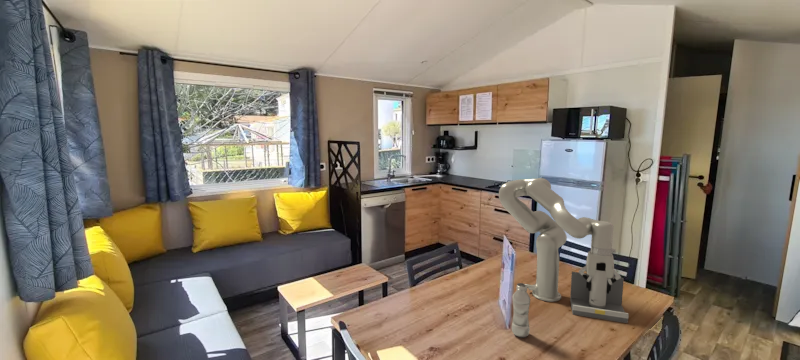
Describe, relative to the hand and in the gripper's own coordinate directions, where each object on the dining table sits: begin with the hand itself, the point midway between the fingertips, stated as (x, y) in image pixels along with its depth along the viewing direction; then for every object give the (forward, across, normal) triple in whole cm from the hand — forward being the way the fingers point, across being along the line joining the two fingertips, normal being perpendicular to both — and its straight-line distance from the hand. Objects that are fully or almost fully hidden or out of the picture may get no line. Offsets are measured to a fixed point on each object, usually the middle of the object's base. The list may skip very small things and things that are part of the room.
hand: (598, 290), depth 148 cm
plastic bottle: (+10, +30, +30) cm, 43 cm away
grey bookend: (+9, 0, 0) cm, 9 cm away
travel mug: (+7, 0, 0) cm, 7 cm away
